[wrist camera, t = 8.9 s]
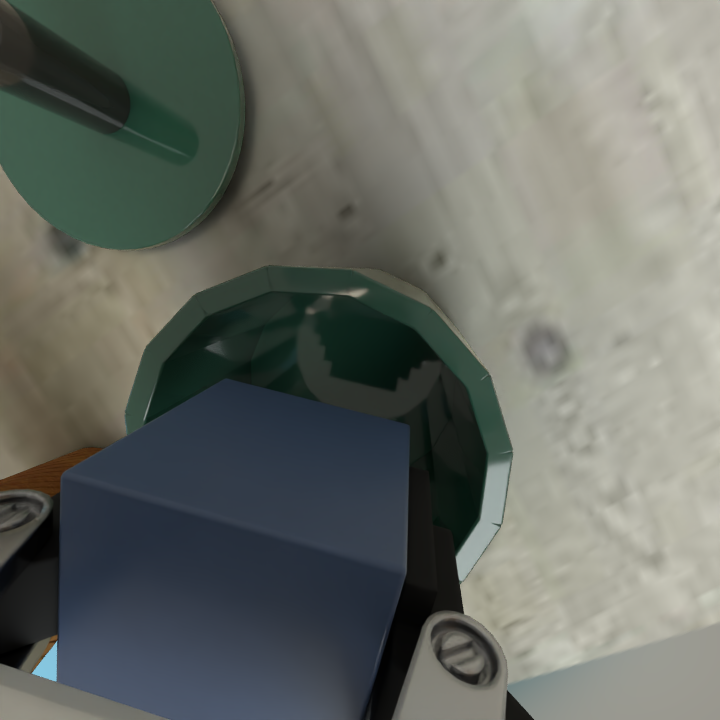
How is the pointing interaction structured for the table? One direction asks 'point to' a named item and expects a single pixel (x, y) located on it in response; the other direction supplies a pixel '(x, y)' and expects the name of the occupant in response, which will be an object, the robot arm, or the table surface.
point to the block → (235, 559)
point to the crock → (348, 375)
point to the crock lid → (119, 115)
